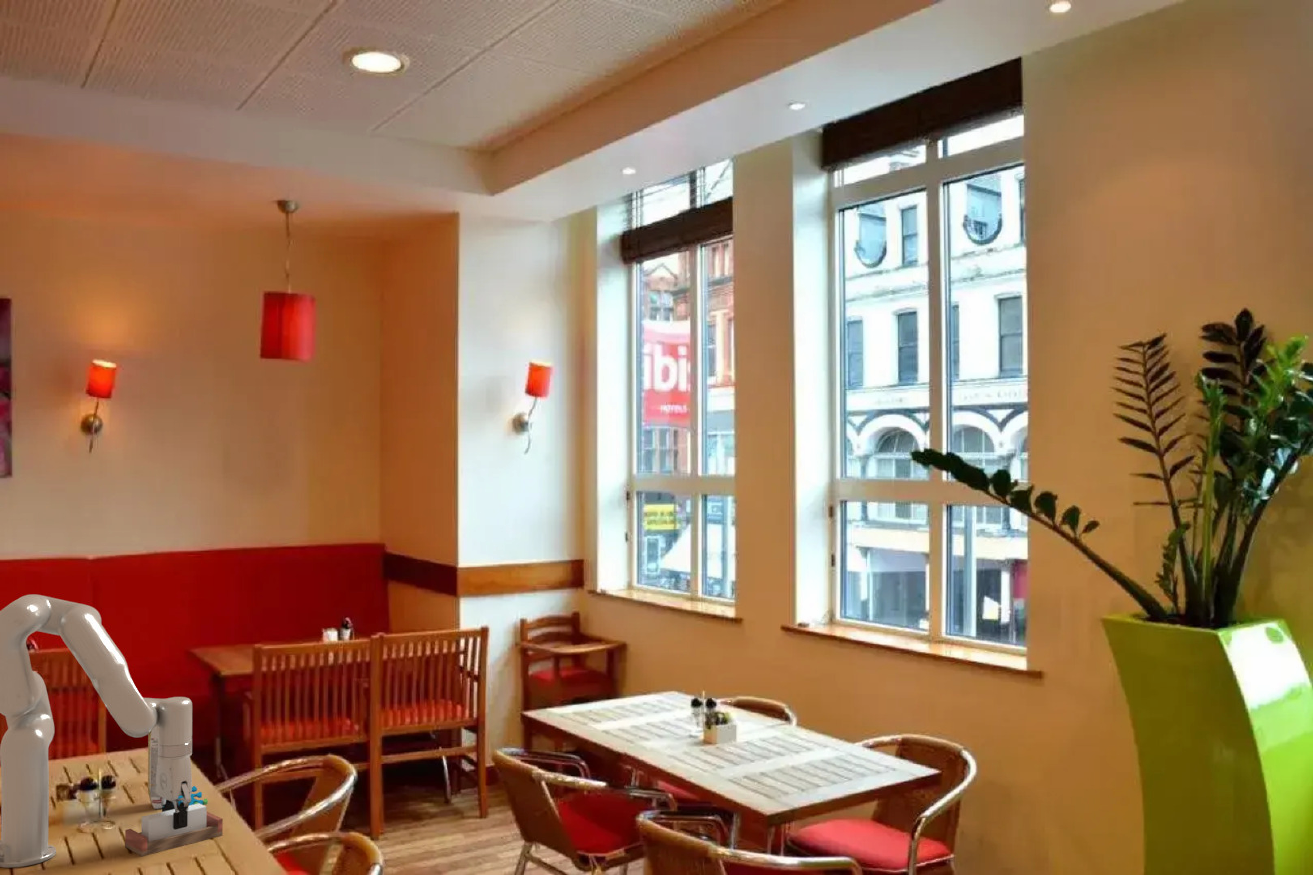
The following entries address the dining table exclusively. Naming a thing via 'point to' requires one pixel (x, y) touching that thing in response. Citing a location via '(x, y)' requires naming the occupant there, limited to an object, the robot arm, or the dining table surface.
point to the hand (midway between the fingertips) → (174, 824)
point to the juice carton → (153, 768)
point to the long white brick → (163, 823)
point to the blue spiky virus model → (193, 800)
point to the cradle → (173, 837)
